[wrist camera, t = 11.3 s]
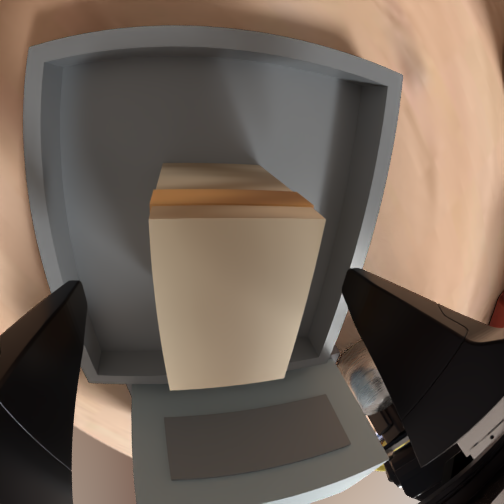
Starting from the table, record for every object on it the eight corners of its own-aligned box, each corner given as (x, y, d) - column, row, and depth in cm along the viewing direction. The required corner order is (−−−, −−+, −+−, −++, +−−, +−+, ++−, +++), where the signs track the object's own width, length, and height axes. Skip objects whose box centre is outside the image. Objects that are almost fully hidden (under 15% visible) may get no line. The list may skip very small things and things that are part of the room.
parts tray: (369, 75, 11) (403, 75, 9) (312, 336, 19) (326, 362, 17) (54, 55, 7) (29, 47, 5) (94, 351, 15) (89, 382, 13)
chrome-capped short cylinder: (388, 332, 22) (419, 373, 17) (370, 365, 24) (395, 404, 20) (347, 342, 21) (377, 390, 16) (331, 376, 23) (355, 421, 18)
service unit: (334, 343, 20) (399, 452, 12) (306, 405, 24) (346, 490, 16) (124, 364, 16) (125, 511, 8) (147, 424, 20) (158, 526, 12)
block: (260, 164, 12) (328, 217, 7) (246, 284, 15) (285, 378, 9) (161, 161, 11) (146, 217, 6) (165, 288, 13) (168, 391, 8)
